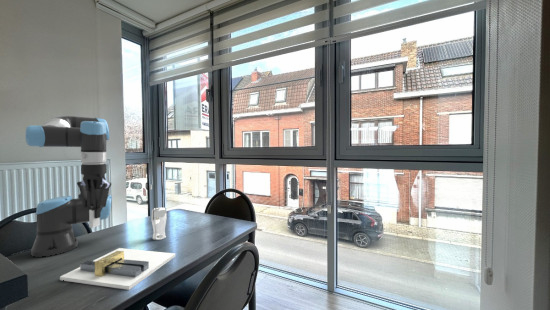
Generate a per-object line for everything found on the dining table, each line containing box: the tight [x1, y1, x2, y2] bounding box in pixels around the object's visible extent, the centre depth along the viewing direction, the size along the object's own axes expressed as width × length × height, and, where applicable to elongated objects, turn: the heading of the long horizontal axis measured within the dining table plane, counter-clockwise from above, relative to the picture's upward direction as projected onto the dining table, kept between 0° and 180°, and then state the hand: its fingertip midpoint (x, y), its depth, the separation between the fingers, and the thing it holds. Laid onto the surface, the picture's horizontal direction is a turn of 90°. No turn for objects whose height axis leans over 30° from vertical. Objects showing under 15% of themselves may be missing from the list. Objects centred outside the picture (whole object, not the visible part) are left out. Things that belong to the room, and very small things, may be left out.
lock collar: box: [95, 251, 124, 276], centre depth 84 cm, size 3×9×5 cm, turn 169°
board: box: [59, 247, 176, 291], centre depth 89 cm, size 28×24×1 cm
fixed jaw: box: [79, 260, 141, 277], centre depth 83 cm, size 24×2×2 cm, turn 79°
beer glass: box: [151, 206, 168, 241], centre depth 118 cm, size 7×7×15 cm
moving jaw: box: [113, 259, 149, 271], centre depth 85 cm, size 16×2×2 cm, turn 81°
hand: (94, 226), depth 86 cm, fingers closed
